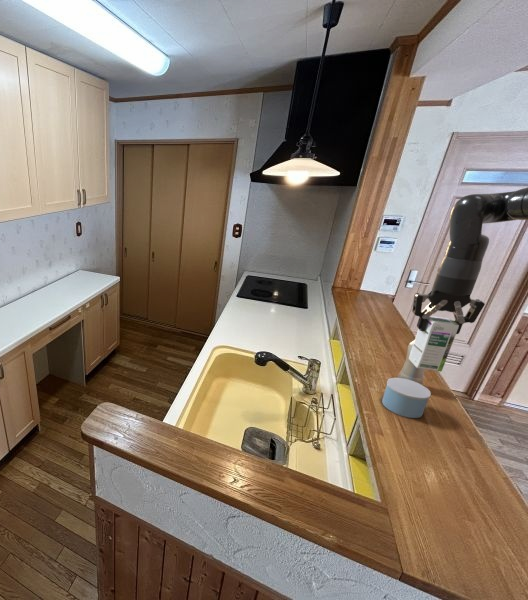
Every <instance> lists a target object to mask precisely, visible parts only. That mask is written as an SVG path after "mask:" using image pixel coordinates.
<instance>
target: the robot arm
mask: <svg viewBox="0 0 528 600" xmlns="http://www.w3.org/2000/svg"><path fill="white" fill-rule="evenodd" d="M449 215H450V216H449V240H448V244H447V247H446V250H445V252H444V256H443V258H442V259H441V261H440V264H439V266H438V268H437V273H436V276H435V278H434V281H433V284H432V288H431V290H430V291H429V293H425V294H424V293H423V294H421V293H419V292H415V293H414V296H413V303H412V310H411V312H412V314H414V316H416V317H418V321H417V323H416V327H417V329H419V330H420V331H424V330H425V327H426V324H427V322H428V319H427V318H429V317H430V316H433V315H434V314H436V313H437V312H448V313H452V314H453V318H454V320H453V321H454V322H456V323H457V324H458V325H459V327H458V330H457V333H456V335H455V337H456V336H457V335H459V334H460V333H461V330H462V328H463V325H464V324H467V323H470V324H473V323H475V322H476V321H477V318H478V316H479V315H480V313H481V312H482V310H483V309H484V307H485V304H486V303H485V302H483V300H480V299H478V298H476V299H473V298H471V295H472V293H473V291H474V288H475V285H476V283H477V280H478V277H479V274H480V272H481V270H482V265H483V260H484V258H485V255H486V252H487V249H488V247H489V243H490V238H489V237H488V236H487V235H485V234H483V233H482V232H483V224H494V223H495V224H496V223H505V222H512V221H528V186H527V187H524V188H520V189H517V190H513V191H505V192H495V193H471V194H467V195H465V196H463V197H461V198H460V199H459V200H457V201H456V203H455V204H454V206H453V207H452V209H451V211H450V214H449ZM426 300H428V301H429V303H428V304H427V305H426V306H424V307H425V308H423V310H422V306H423V303H425V302H426ZM467 305H469V309H468V310H467V312H466V314H465V316H464V311H463V308H464V307H465V306H466V307H467Z"/></svg>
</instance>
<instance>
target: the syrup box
mask: <svg viewBox="0 0 528 600" xmlns="http://www.w3.org/2000/svg"><path fill="white" fill-rule="evenodd" d="M427 319H428V322H427V324H426V327H425V330H424V331H420V330H419V328H417V332H416V335H415V338H414V340H415V341H414V340H413V341H414V344H413V347H412V350H411V353H410V356H409V360H410V361H411V362H412V363H413V364H414V365H415V366H416V367H417V368H419V369H420V368H421V369H425V370H428V371H436V372H439V373H440V372H442V371H443V369H444V366H445V363H446V361H447V359H448V356H449V354H450V350H451V348H452V345H453V344H454V343H453V342H454V340H455V338H456V336H457V334H456V333H457V330H458V327H459V325H458V324H457V323H456V322H454V321H455V320H453V319H451V318H449V317H442V316H435V315H434V316H433V315H431V316H430V317H429V318H427ZM455 335H456V336H455Z"/></svg>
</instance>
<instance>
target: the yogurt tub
mask: <svg viewBox="0 0 528 600" xmlns="http://www.w3.org/2000/svg"><path fill="white" fill-rule="evenodd" d="M431 396H432V392H431V391H430V389H429V388H427V387H426V386H425V385H423V384H422V385H421V384H419V383H417V382H414V381H411V380H408V379H403V378H398V377H390V378H388V379H387V380H386V387H385V389H384V393H383V395H382V399H381V402H382V405H383V406H384V407H385V408H386V409H387V410H389V411H390V412H392V413H394V414H396V415H398V416H401V417H405V418H409V419H419V418H422V416H423V414H424V412H425V410H426V406H427V404H428V401H429V399H430V397H431Z"/></svg>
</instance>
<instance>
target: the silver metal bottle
mask: <svg viewBox="0 0 528 600" xmlns="http://www.w3.org/2000/svg"><path fill="white" fill-rule="evenodd" d="M414 341H415V339H414V340H412V341H410V342H409V343H408V345H407V349H406V350H407V351H406V356H405V361H404V363H403V366H402V368H401V369H400V371H399V372H398V374H397V378H403V379H408V380H411V381H414V382H417V383H419V384H421V385H423V383H424V375H425V371H426V369H421V368H420V369H419V368H417V367H416V366H415V365H414V364H413V363H412V362H411V361H410V360H409V356H410V353H411V350H412V347H413V344H414Z"/></svg>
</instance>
